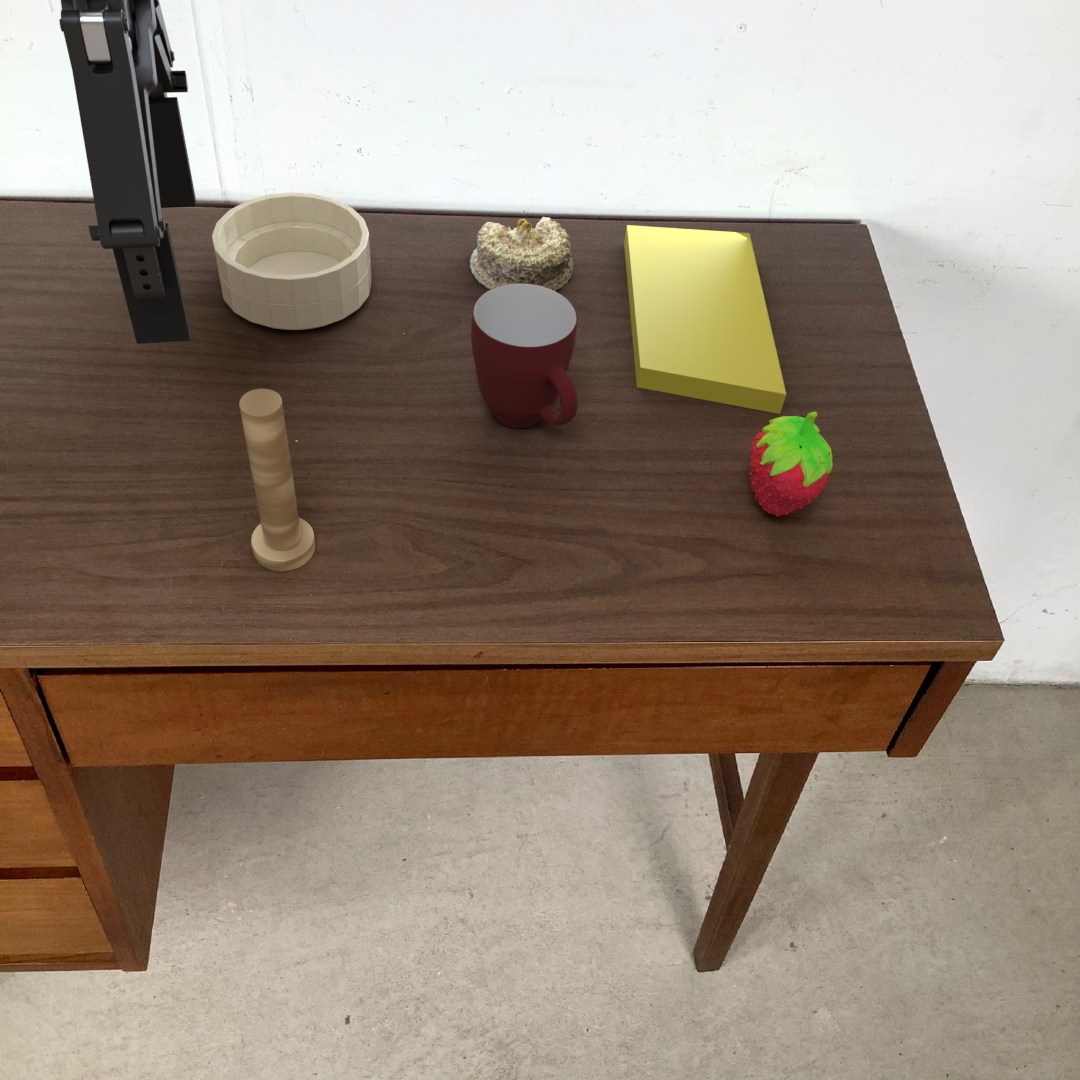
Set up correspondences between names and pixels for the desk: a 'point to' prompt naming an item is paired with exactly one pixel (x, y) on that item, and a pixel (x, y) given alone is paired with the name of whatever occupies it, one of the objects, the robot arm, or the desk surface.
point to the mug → (525, 353)
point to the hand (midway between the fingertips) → (169, 267)
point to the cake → (522, 255)
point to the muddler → (274, 485)
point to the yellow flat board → (701, 317)
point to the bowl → (293, 260)
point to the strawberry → (789, 464)
